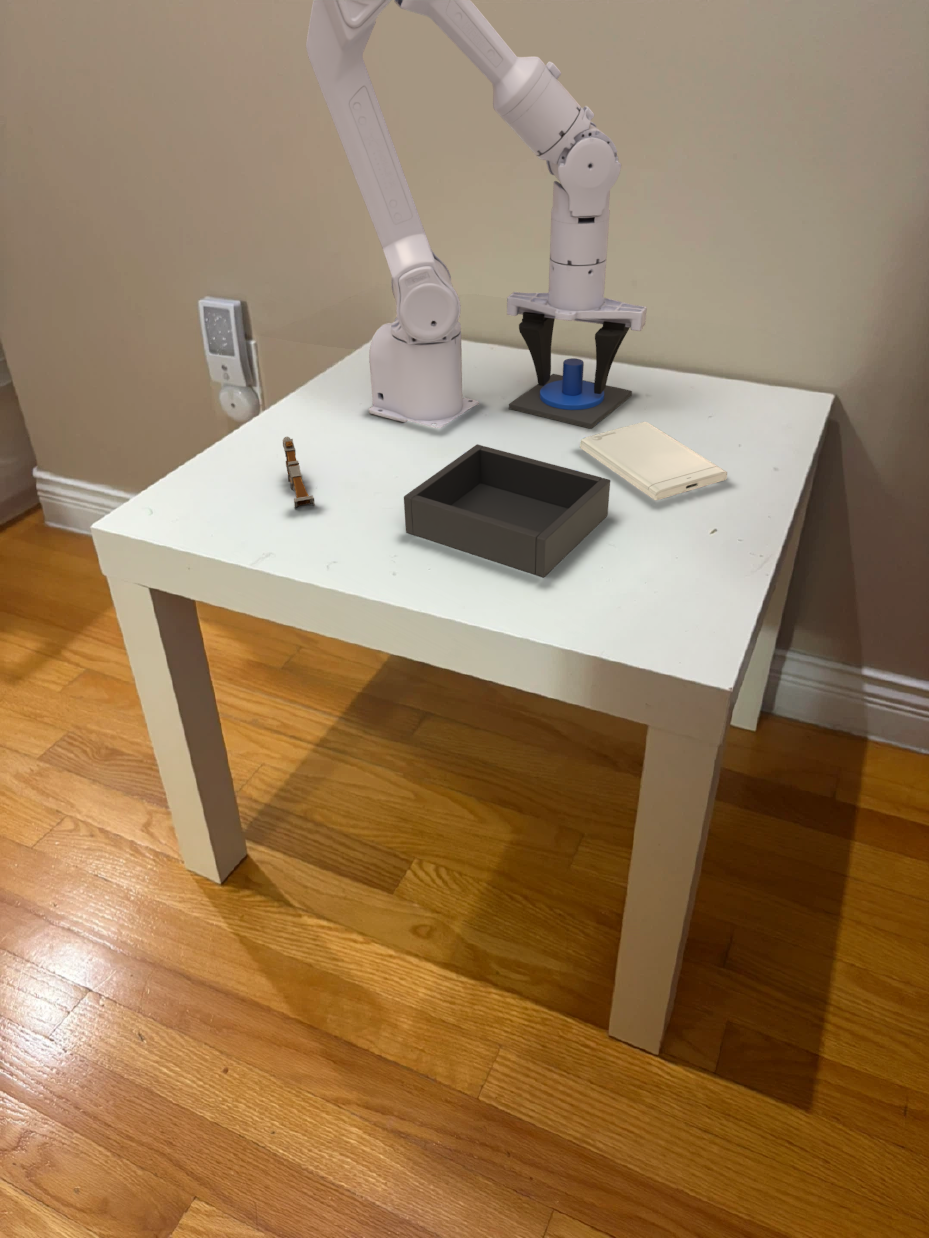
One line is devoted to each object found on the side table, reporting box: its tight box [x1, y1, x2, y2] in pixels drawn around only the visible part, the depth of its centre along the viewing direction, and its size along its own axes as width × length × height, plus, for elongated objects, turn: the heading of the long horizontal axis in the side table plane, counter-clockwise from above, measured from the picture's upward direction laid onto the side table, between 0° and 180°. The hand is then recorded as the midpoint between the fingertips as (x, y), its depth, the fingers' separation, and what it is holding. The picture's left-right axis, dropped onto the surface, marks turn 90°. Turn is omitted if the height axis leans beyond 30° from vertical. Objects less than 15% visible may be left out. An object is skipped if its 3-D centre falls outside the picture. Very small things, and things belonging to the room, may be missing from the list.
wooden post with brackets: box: [282, 436, 316, 508], centre depth 89 cm, size 2×8×4 cm, turn 18°
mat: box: [508, 373, 633, 429], centre depth 105 cm, size 10×10×1 cm
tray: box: [403, 443, 611, 579], centre depth 83 cm, size 14×12×4 cm
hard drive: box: [579, 421, 728, 501], centre depth 92 cm, size 2×8×12 cm
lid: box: [540, 357, 604, 410], centre depth 104 cm, size 7×7×4 cm
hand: (571, 386), depth 105 cm, fingers open, 6 cm apart
